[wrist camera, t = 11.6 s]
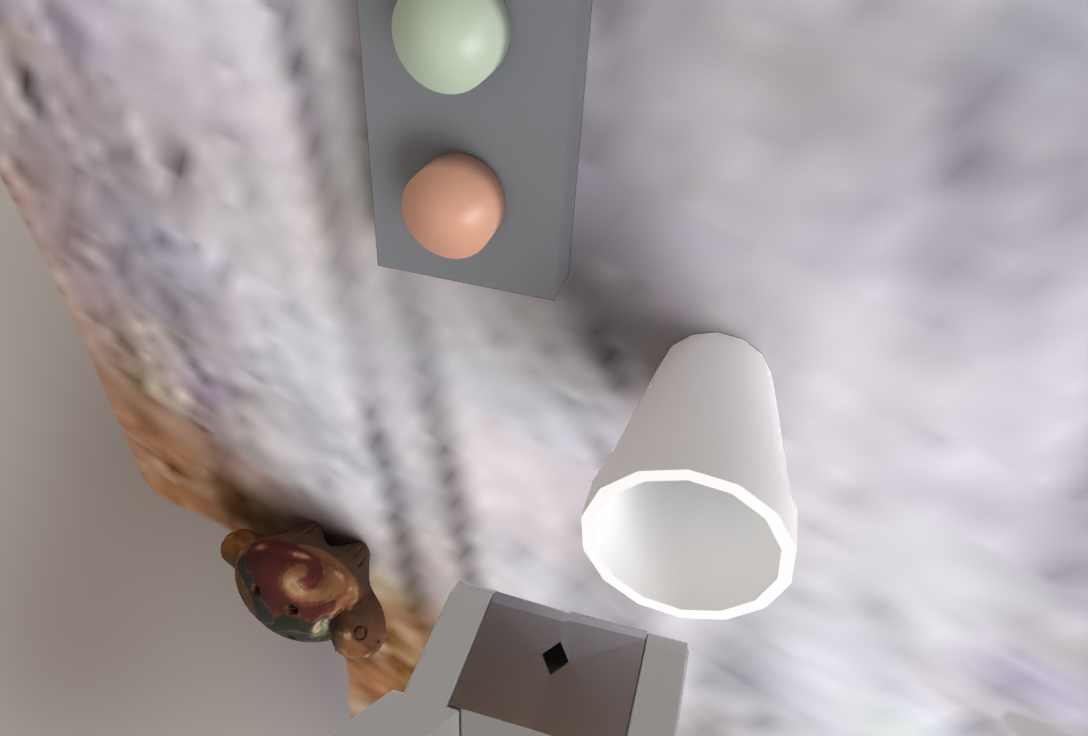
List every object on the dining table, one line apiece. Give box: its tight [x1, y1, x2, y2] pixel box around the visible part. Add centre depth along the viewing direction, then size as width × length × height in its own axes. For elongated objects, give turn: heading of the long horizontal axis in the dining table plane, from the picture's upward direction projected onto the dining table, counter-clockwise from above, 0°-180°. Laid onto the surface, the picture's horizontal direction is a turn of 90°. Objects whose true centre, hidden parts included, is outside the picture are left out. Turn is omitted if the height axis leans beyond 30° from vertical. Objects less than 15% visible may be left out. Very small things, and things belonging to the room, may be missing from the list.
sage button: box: [392, 0, 511, 94], centre depth 34 cm, size 5×5×5 cm
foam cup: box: [581, 332, 798, 620], centre depth 40 cm, size 10×9×13 cm
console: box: [357, 0, 592, 301], centre depth 35 cm, size 10×26×3 cm, turn 177°
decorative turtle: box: [221, 522, 387, 659], centre depth 62 cm, size 10×15×8 cm, turn 82°
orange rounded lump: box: [402, 153, 506, 259], centre depth 39 cm, size 5×5×5 cm
